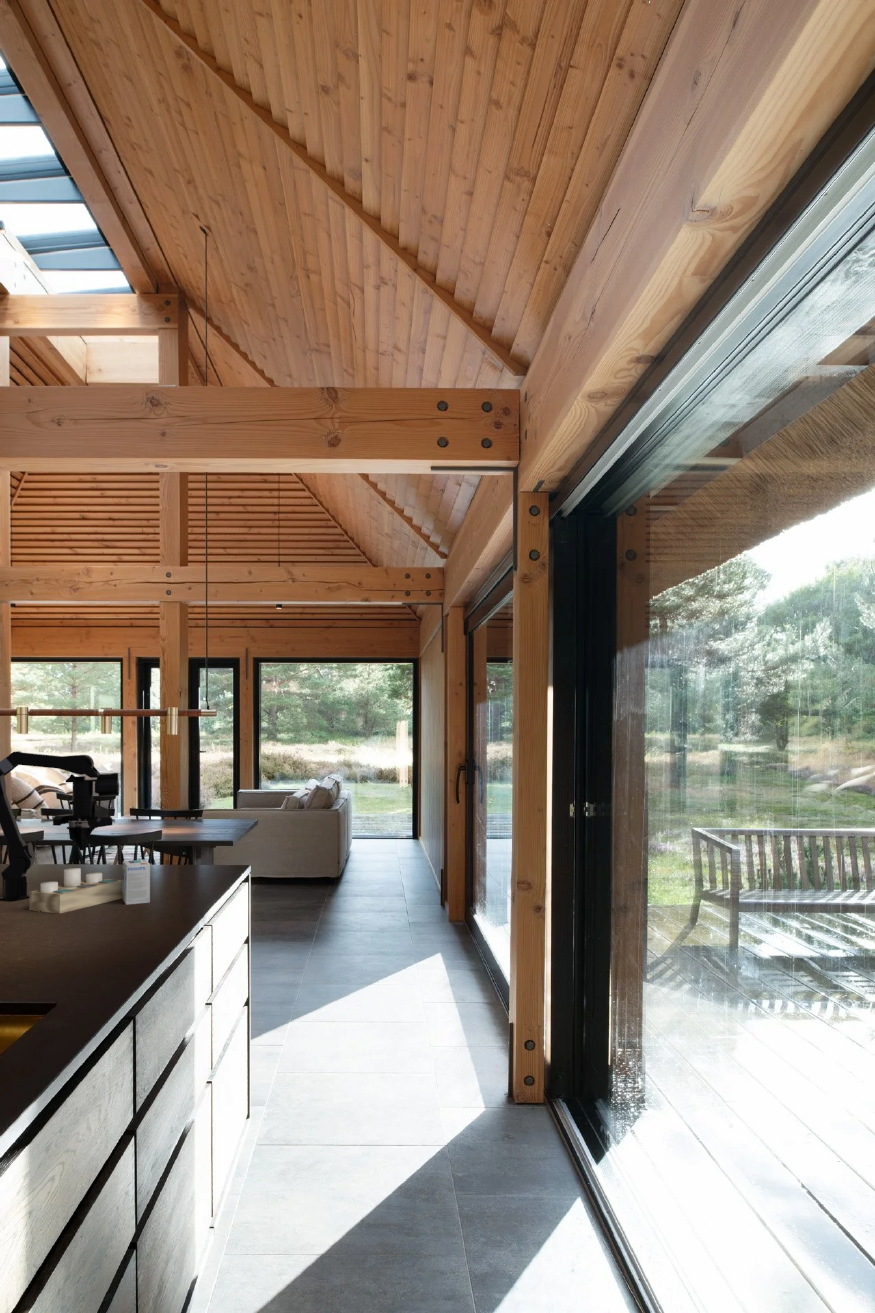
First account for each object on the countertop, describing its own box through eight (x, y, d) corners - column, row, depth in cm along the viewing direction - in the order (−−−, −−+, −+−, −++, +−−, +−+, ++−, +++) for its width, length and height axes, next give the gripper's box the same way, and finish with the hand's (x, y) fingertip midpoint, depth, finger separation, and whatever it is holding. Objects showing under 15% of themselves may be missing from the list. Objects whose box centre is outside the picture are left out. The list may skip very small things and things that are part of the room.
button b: (60, 895, 259) (60, 870, 260) (72, 892, 263) (72, 867, 264) (71, 896, 257) (71, 870, 258) (84, 893, 261) (84, 868, 262)
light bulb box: (121, 898, 266) (121, 860, 267) (145, 896, 269) (146, 859, 270) (125, 905, 257) (126, 865, 258) (151, 902, 260) (151, 863, 260)
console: (29, 910, 251) (29, 890, 252) (94, 895, 272) (94, 877, 272) (59, 913, 246) (60, 893, 247) (123, 898, 267) (123, 879, 267)
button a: (36, 909, 252) (36, 883, 253) (49, 906, 256) (50, 881, 256) (48, 911, 250) (48, 884, 251) (61, 908, 254) (61, 882, 255)
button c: (82, 899, 266) (82, 874, 267) (94, 896, 270) (94, 872, 271) (93, 900, 264) (93, 875, 265) (105, 897, 268) (105, 873, 269)
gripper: (126, 795, 279) (126, 848, 278) (81, 794, 287) (80, 845, 286) (97, 798, 269) (97, 853, 268) (51, 797, 277) (51, 850, 276)
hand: (82, 850), depth 274 cm, fingers closed
